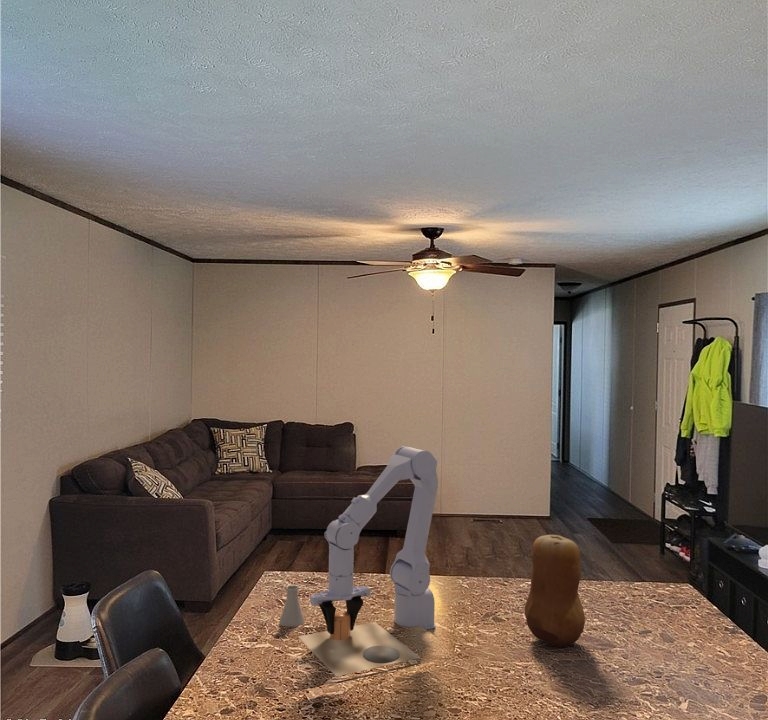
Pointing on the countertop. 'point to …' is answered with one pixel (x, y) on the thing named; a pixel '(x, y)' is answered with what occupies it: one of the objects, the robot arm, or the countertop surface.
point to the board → (359, 650)
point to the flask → (292, 609)
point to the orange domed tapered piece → (341, 625)
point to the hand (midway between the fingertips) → (340, 630)
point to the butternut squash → (555, 591)
